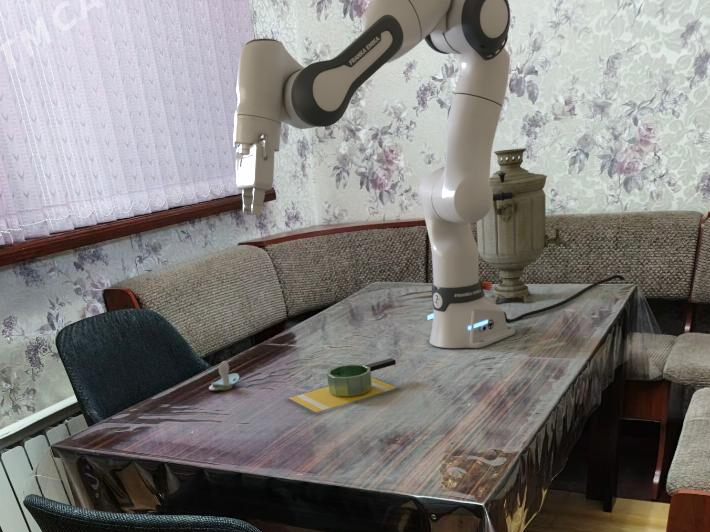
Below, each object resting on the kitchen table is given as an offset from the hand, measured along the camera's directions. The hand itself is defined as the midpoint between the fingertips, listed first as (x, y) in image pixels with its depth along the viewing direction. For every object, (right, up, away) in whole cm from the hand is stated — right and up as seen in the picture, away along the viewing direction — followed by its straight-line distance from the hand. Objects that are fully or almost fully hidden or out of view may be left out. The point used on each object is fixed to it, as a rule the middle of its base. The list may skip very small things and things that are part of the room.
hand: (251, 214), depth 142 cm
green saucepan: (+22, -32, +12) cm, 41 cm away
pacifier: (-10, -31, +20) cm, 38 cm away
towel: (+18, -34, +10) cm, 40 cm away
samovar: (+67, +6, +71) cm, 98 cm away
